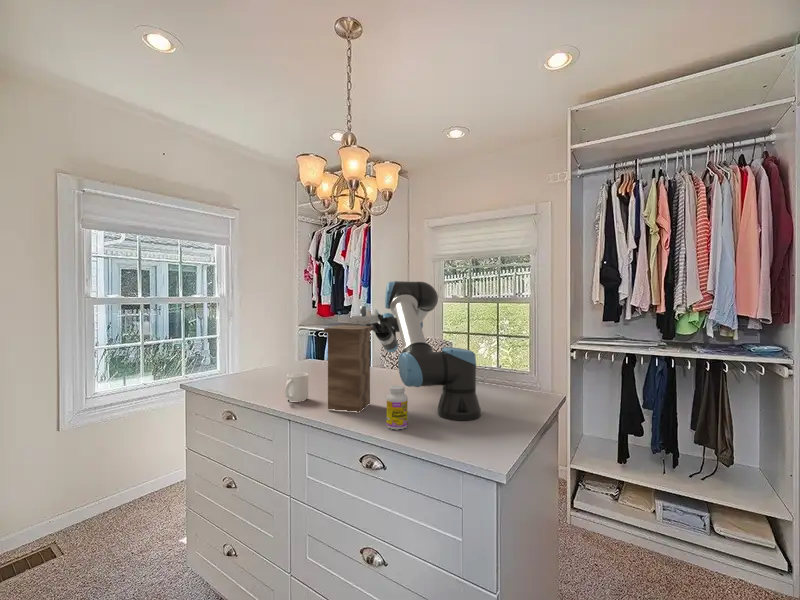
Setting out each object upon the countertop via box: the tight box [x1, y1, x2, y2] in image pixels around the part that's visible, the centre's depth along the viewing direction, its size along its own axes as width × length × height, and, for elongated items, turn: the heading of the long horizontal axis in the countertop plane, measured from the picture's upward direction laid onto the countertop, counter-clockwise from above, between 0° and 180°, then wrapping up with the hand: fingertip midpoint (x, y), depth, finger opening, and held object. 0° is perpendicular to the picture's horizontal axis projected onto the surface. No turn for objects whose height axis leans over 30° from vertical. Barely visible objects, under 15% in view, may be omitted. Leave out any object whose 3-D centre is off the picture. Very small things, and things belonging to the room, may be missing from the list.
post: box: [323, 325, 373, 412], centre depth 145 cm, size 14×14×30 cm
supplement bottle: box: [386, 384, 409, 430], centre depth 123 cm, size 7×7×13 cm
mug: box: [284, 372, 309, 401], centre depth 153 cm, size 12×8×10 cm
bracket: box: [350, 305, 379, 325], centre depth 166 cm, size 20×8×7 cm, turn 166°
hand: (371, 312), depth 169 cm, fingers closed on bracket, 3 cm apart
